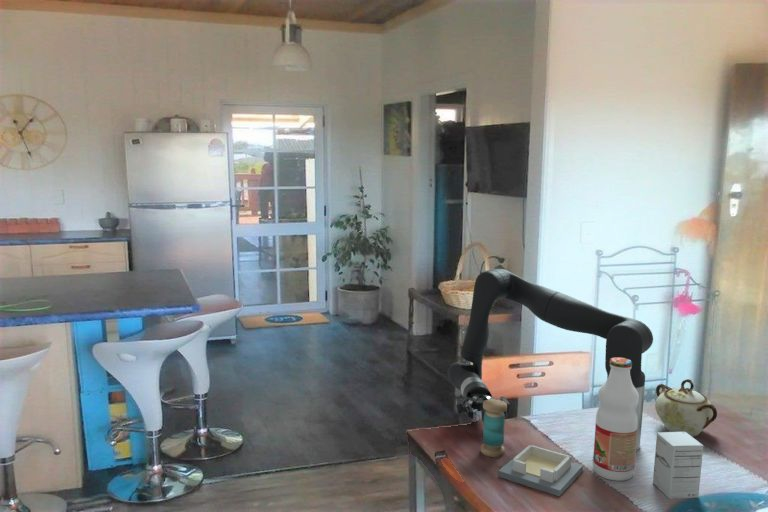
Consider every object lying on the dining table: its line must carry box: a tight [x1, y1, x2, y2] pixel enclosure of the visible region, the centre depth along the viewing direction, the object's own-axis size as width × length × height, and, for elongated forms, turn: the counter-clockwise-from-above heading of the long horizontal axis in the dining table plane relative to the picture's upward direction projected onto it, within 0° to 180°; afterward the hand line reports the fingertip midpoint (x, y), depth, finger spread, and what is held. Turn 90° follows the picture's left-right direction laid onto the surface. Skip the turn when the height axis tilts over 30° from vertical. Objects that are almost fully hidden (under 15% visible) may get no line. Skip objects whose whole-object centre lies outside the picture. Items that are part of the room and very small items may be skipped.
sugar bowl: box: [654, 378, 718, 437], centre depth 180 cm, size 20×15×15 cm
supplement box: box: [652, 431, 704, 499], centre depth 147 cm, size 7×7×13 cm
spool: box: [480, 398, 507, 458], centre depth 165 cm, size 6×6×13 cm
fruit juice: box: [592, 357, 639, 482], centre depth 154 cm, size 9×9×28 cm
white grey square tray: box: [497, 444, 584, 497], centre depth 154 cm, size 15×15×4 cm
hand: (488, 415), depth 171 cm, fingers open, 8 cm apart
